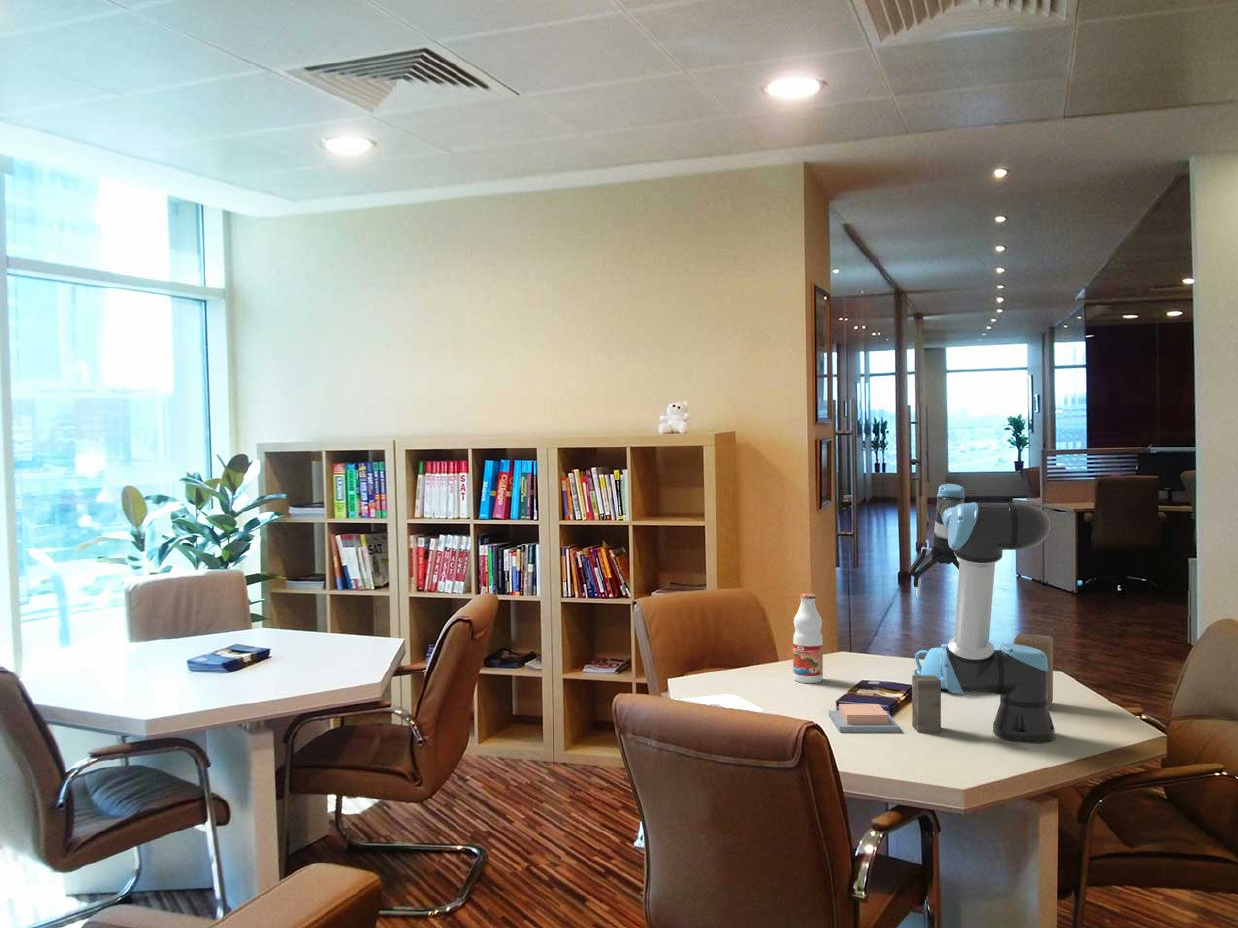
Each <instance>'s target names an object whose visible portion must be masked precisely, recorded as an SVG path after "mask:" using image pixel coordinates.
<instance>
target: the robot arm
mask: <svg viewBox="0 0 1238 928" xmlns="http://www.w3.org/2000/svg"><path fill="white" fill-rule="evenodd" d="M965 491H966V490H965V488H964V487H963V486H961V485H959V484H955V483H944V484H941V485H940V486H939V487H938V491H937V495H936V498H937V499H936V509H935V522H934V528H933V529H934V531H933V532H934V534H933V541H932V547H931V548H929V547H926V546H925V545H924V546H923V545H922V546H921V548H920V552H919V554H918V556H917V557H916V559H915V560H914V562H913V563H912V564H911V566H910V567H909V569H908V575H909V576H910V577H913V588H916V593H915V596H916V599H920V596H921V583H922V577H921V576H922V575H924V574H925V573H926V571H928V570H929V569H930V568H931V567H933V566H935V565H936V564H937V563H938V564H946V565H951V564H953V565H954V567H955V568H956V569H958V578H957V591H956V592H957V594H956V606H955V607H956V608H955V609H956V610H955V620H954V621H955V624H954V625H955V626H954V636H953V637H951V638H950V639H949V640H948V642H947V644H948V649H947V648H944V649H941V663H942V670H943V676H944V681H945V686H946V688H947V689H946V690H947V691H948V692H950V693H953V694H962V695H965V694H969V695H972V694H973V695H996V696H997V695H999V707H998V708H997V711H996V715H995V718H994V721H993V723H992V732H993V734H994V735H996V736H997V737H999V738H1001V739H1005V740H1009V741H1014V742H1021V743H1028V744H1029V743H1031V744H1032V743H1034V744H1035V743H1036V744H1037V743H1047V742H1052V741H1053V740H1055V738H1056V736H1055V735H1056V733H1055V732H1056V729H1055V726H1054V723H1053V720H1052V717H1051V713H1050V711H1049V710H1050V709H1049V710H1048V671H1049V670H1048V662H1047V656H1046V654H1045V653H1044V652H1042V651H1040V650H1038V649H1035V648H1032V647H1028V646H1023V645H1017V644H1014V643H1002V644H1000V646H999V649H995V646H994V645H993V643H992V642H991V641H990V632H991V619H992V618H991V617H992V606H993V596H994V595H993V593H994V581H995V570H996V569H995V568H996V563H997V562H999V561H1001V560H1002V559H1003V551H1009V550H1010V551H1012V550H1015V551H1016V550H1018V551H1019V550H1025V549H1030V548H1032V547H1035V546H1037V545H1039V544H1041V543H1042V542H1043V541H1045V540H1046V538H1047V537H1048V536H1049V533H1050V532H1051V531H1050V530H1051V520H1050V518H1049V515H1048V514H1047V513H1046V512H1045V511H1044V510H1043V509H1041V508H1040V507H1037V506H1035V505H1031V504H1026V503H1021V502H1012V503H1011V502H1009V503H1007V502H1005V503H1004V502H1002V503H999V502H996V503H995V502H974V501H973V502H969V503H967V502H966V503H964V501H965V498H966V496H965ZM929 554H931V556H930V557H929V558H928V560H927V561H926V562H924V563H923V564H922V562H923V561H924V560H925V558H926V556H928V555H929ZM921 564H922V565H921ZM920 565H921V566H920Z"/></svg>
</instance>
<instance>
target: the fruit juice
mask: <svg viewBox="0 0 1238 928" xmlns="http://www.w3.org/2000/svg"><path fill="white" fill-rule="evenodd" d="M799 599H800V605H799V608H798V610H797V613H796V614H795V616H794V618H793V625H794V633H793V637H792V638H793V639H792V641H793V643H792V644H793V645H792V646H793V647H792V648H793V650H792V653H793V661H792V663H793V664H792V666H793V669H792V671H793V676H792V677H793V680H794V681H795V682H798V683H803V684H817V683H818V684H819V683H820V682H822V681H823V677H824V676H823V675H824V670H823V668H824V667H823V664H824V663H823V661H824V660H823V658H824V657H823V656H824V655H823V653H824V652H823V649H824V648H823V647H824V645H823V642H824V641H823V639H824V638H823V634H822V631H821V630H822V626H823V619H822V617H821V615H820V613H819V612H818V608H817V606H816V602H815V601H816V594H815V593H800V596H799Z"/></svg>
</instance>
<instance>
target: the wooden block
mask: <svg viewBox="0 0 1238 928" xmlns="http://www.w3.org/2000/svg"><path fill="white" fill-rule="evenodd" d="M1013 644H1017V645H1023V646H1028V647H1032V648H1035V649H1038V650H1040V651H1042V652H1044V653H1045V654H1046V656H1047V662H1048V670H1049V671H1048V710H1050V709H1051V707H1052V704H1053V701H1054V639H1053V637H1052V636H1051V635H1041V634H1029V633H1018V634H1016V636H1015V638H1014V640H1013Z"/></svg>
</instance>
